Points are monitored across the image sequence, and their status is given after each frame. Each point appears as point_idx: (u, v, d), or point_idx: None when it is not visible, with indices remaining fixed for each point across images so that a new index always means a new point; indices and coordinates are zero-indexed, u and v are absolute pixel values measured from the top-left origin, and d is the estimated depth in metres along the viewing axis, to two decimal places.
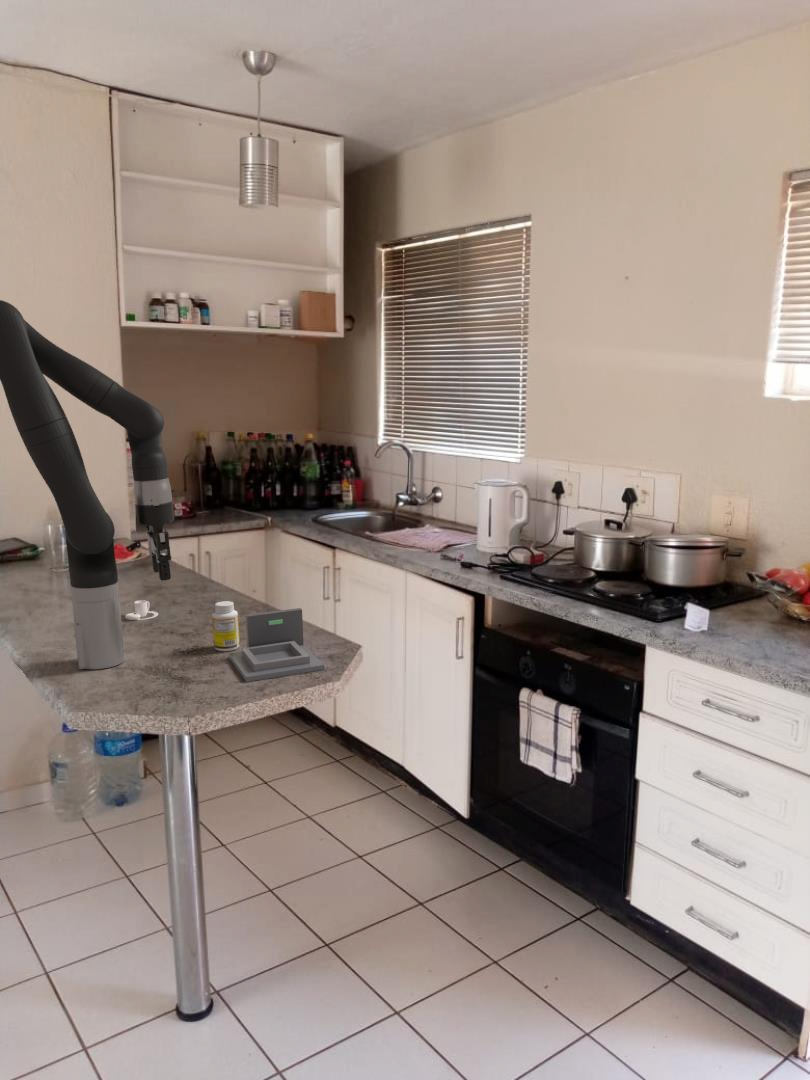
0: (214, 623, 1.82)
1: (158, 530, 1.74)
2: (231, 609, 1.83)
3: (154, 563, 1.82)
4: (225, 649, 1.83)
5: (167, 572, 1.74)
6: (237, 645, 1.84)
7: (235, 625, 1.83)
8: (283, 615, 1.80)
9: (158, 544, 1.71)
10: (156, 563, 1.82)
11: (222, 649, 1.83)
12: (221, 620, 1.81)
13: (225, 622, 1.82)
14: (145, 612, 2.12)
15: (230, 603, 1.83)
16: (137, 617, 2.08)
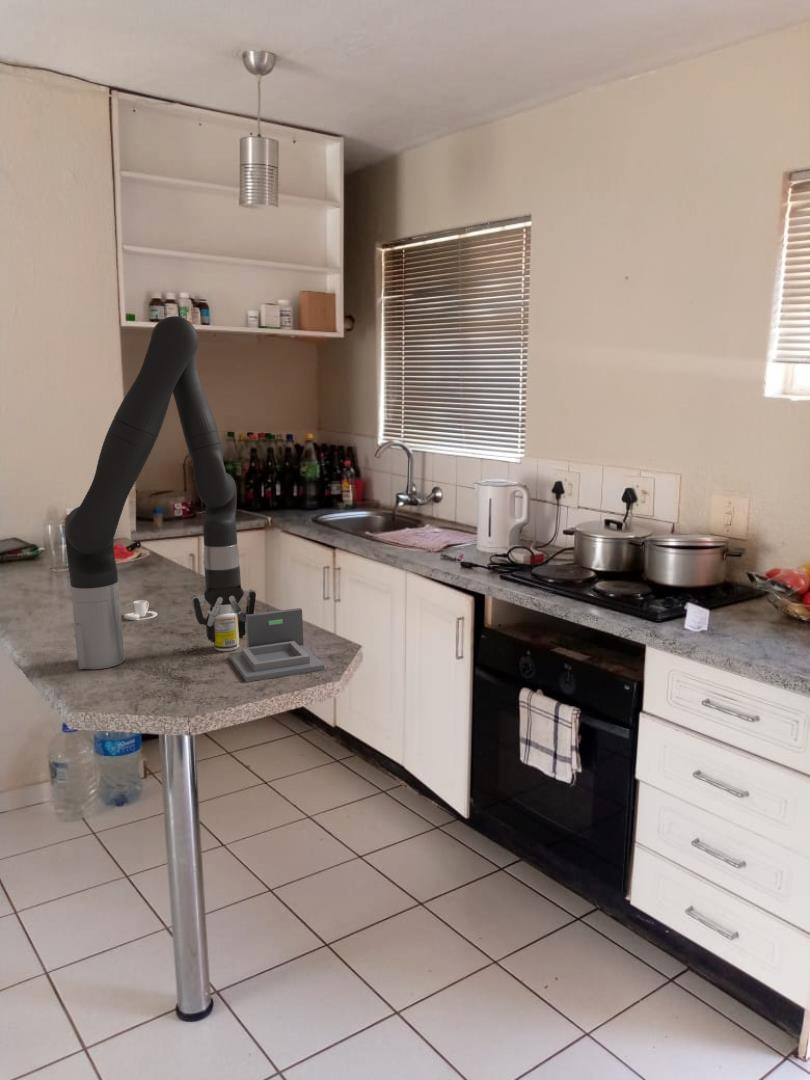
0: (214, 623, 1.82)
1: None
2: (231, 609, 1.83)
3: None
4: (225, 649, 1.83)
5: None
6: (237, 645, 1.84)
7: (235, 625, 1.83)
8: (283, 615, 1.80)
9: None
10: None
11: (222, 649, 1.83)
12: (221, 620, 1.81)
13: (225, 622, 1.82)
14: (144, 612, 2.12)
15: None
16: (136, 617, 2.08)
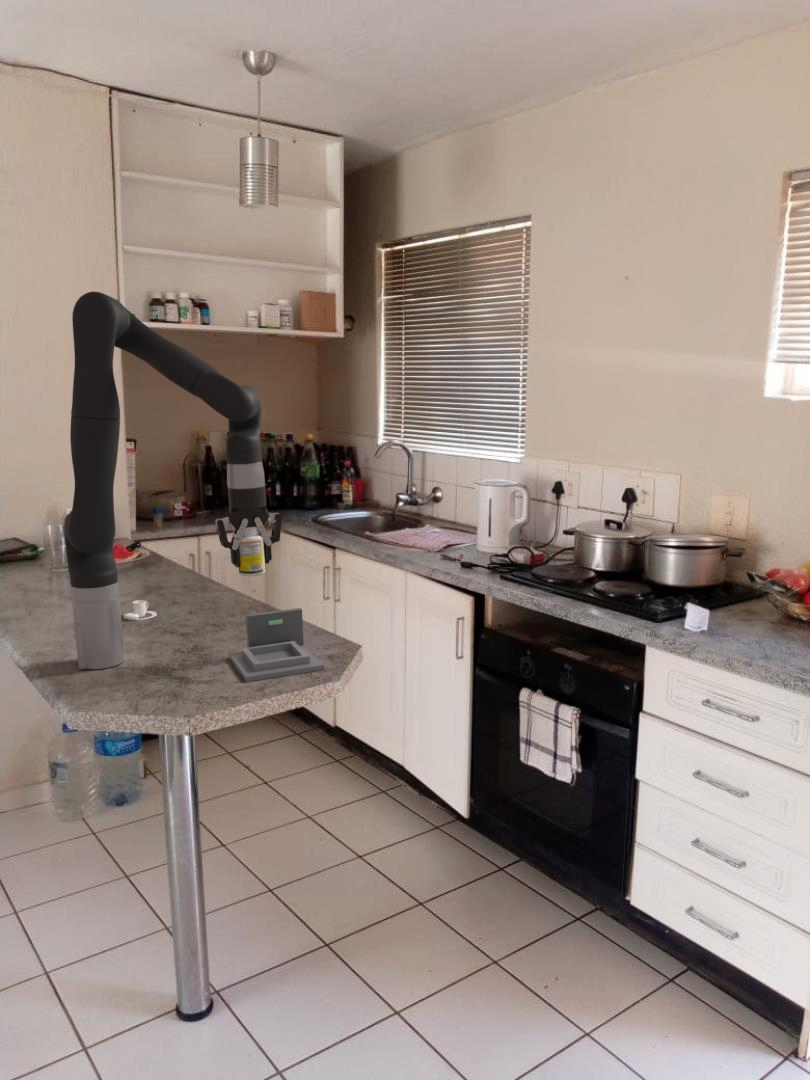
0: (239, 547, 1.73)
1: None
2: (256, 532, 1.74)
3: None
4: (251, 574, 1.74)
5: None
6: (263, 570, 1.75)
7: (261, 549, 1.74)
8: (283, 615, 1.80)
9: None
10: None
11: (248, 574, 1.74)
12: (246, 542, 1.72)
13: (251, 545, 1.72)
14: (143, 612, 2.12)
15: None
16: (135, 617, 2.08)
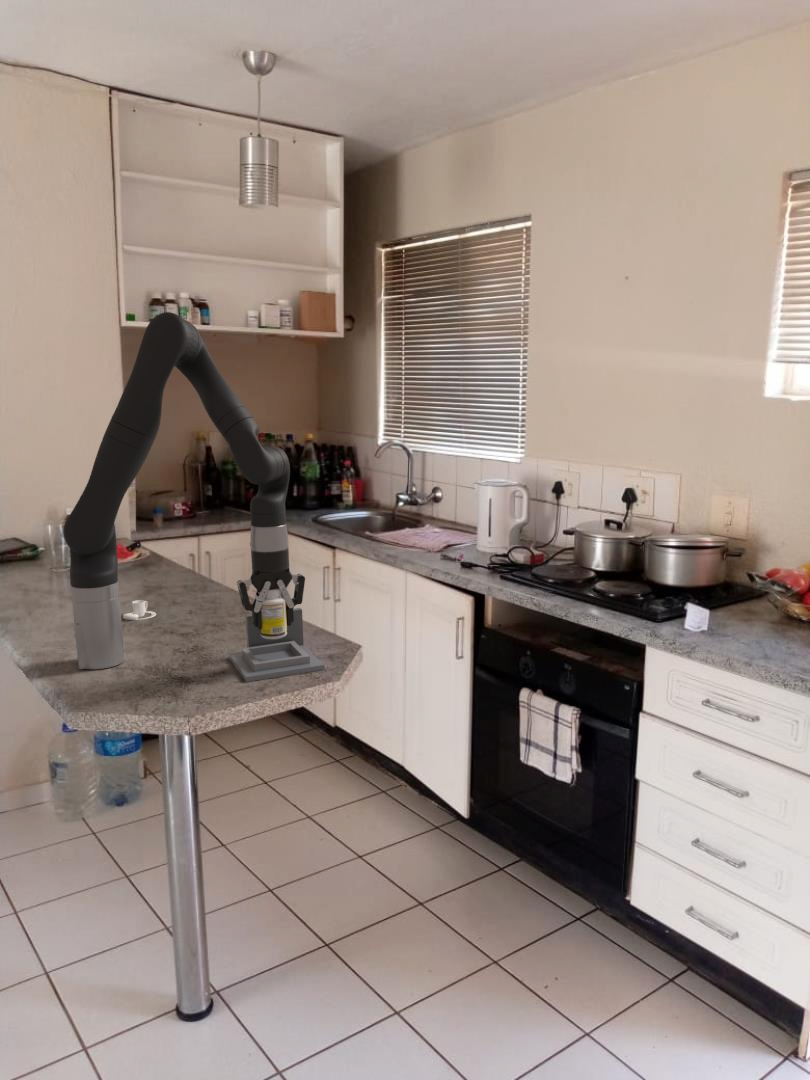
0: (261, 609, 1.71)
1: None
2: (279, 594, 1.71)
3: None
4: (273, 637, 1.71)
5: None
6: (285, 633, 1.72)
7: (283, 611, 1.71)
8: None
9: None
10: None
11: (269, 637, 1.71)
12: (268, 605, 1.70)
13: (273, 608, 1.70)
14: (143, 612, 2.12)
15: None
16: (135, 617, 2.08)
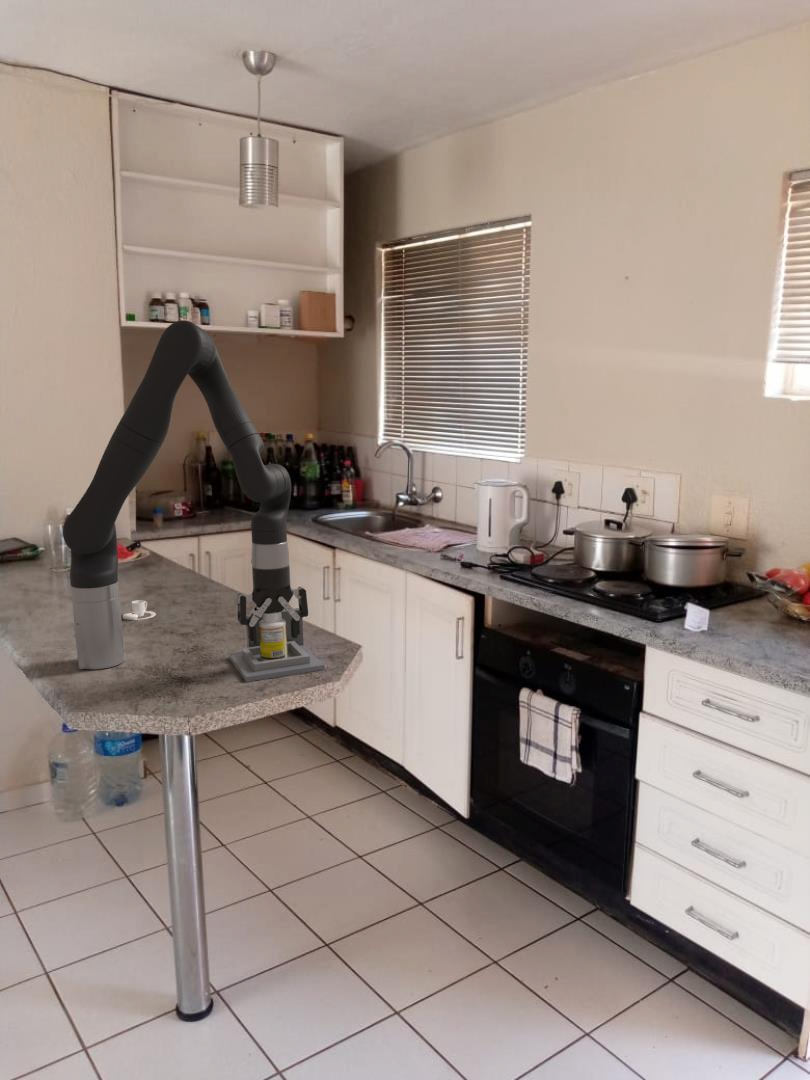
0: (261, 632, 1.71)
1: None
2: (279, 618, 1.72)
3: None
4: None
5: None
6: (285, 656, 1.73)
7: (283, 635, 1.72)
8: (283, 615, 1.80)
9: None
10: None
11: None
12: (269, 629, 1.70)
13: (274, 632, 1.71)
14: (142, 612, 2.12)
15: None
16: (134, 617, 2.08)
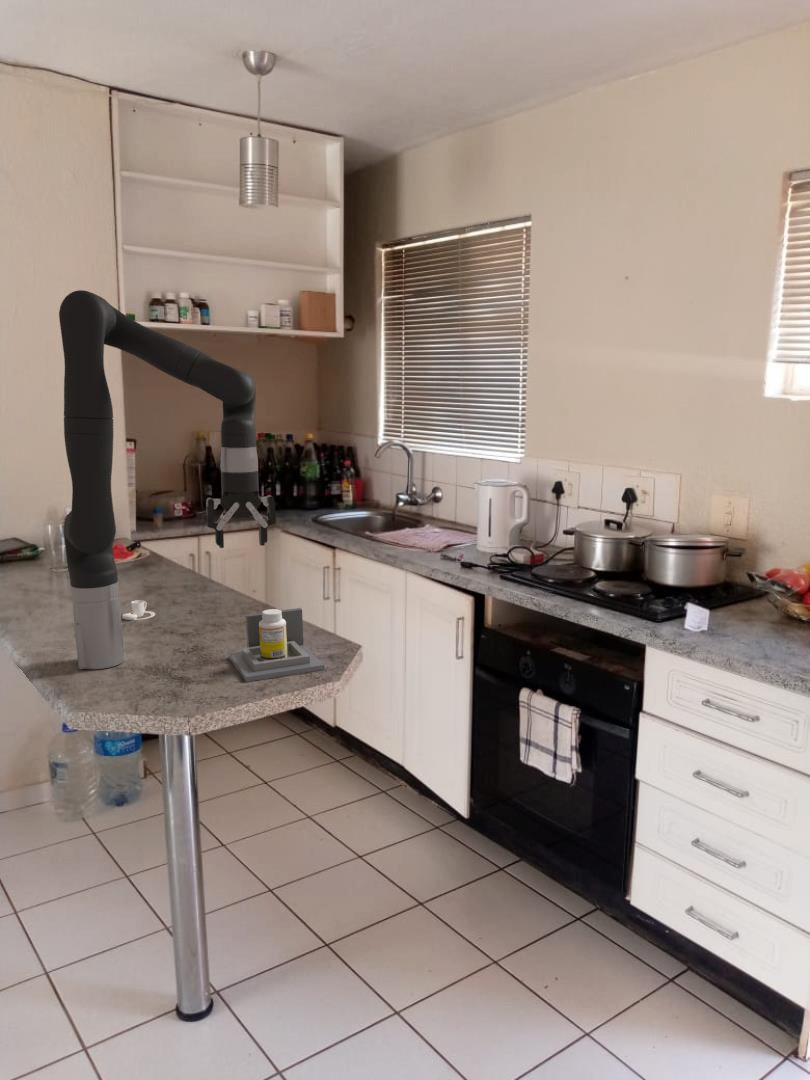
0: (261, 632, 1.71)
1: None
2: (279, 618, 1.72)
3: (223, 538, 1.74)
4: None
5: None
6: (285, 656, 1.73)
7: (284, 635, 1.72)
8: (283, 615, 1.80)
9: (274, 506, 1.76)
10: None
11: None
12: (269, 629, 1.70)
13: (274, 632, 1.71)
14: (142, 612, 2.12)
15: (278, 611, 1.72)
16: (134, 617, 2.08)
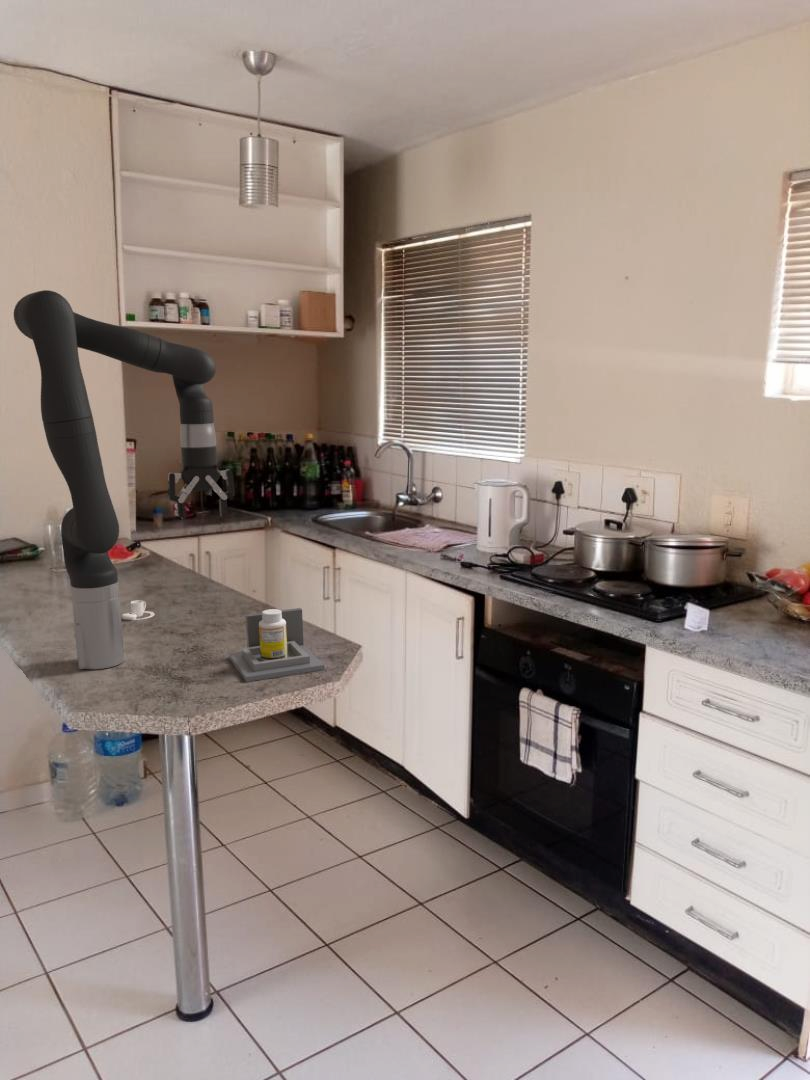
0: (261, 632, 1.71)
1: None
2: (279, 618, 1.72)
3: None
4: None
5: None
6: (285, 656, 1.73)
7: (283, 635, 1.72)
8: (283, 615, 1.80)
9: None
10: None
11: None
12: (269, 629, 1.70)
13: (274, 632, 1.71)
14: (141, 612, 2.12)
15: (278, 611, 1.72)
16: (133, 617, 2.08)
